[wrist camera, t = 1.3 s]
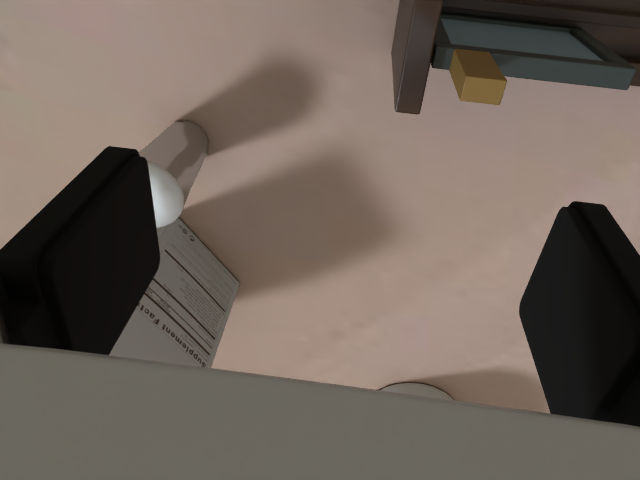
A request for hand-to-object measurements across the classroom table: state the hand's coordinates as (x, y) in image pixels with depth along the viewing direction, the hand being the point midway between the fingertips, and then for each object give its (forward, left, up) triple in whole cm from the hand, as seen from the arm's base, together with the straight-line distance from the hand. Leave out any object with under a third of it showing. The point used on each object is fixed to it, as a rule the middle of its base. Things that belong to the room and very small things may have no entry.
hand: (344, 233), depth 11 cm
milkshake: (+10, -12, -24) cm, 29 cm away
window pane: (0, +8, -23) cm, 24 cm away
